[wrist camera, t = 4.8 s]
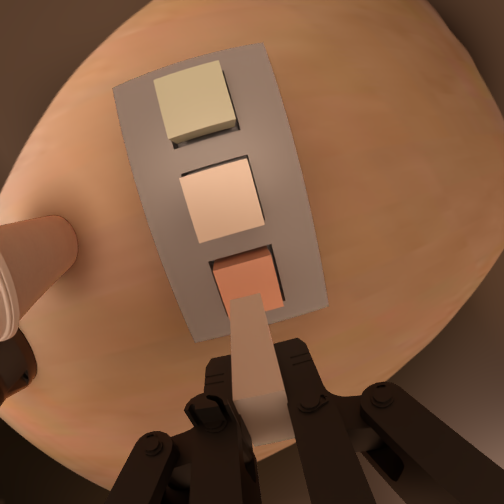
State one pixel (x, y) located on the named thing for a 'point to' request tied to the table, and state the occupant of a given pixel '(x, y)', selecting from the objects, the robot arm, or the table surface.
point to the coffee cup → (31, 264)
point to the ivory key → (222, 200)
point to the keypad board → (212, 155)
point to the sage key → (194, 102)
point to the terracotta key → (248, 277)
